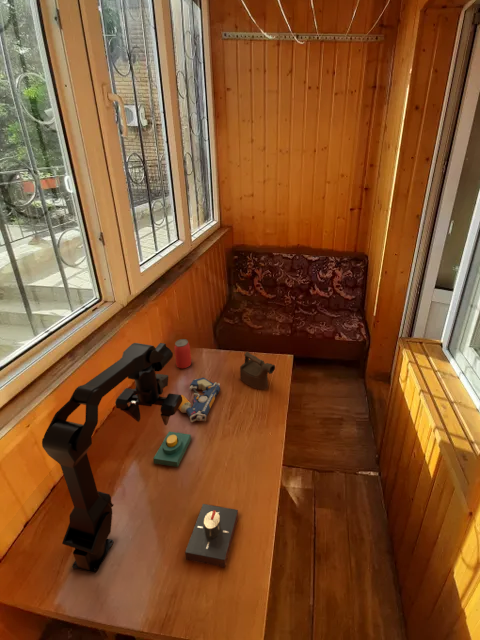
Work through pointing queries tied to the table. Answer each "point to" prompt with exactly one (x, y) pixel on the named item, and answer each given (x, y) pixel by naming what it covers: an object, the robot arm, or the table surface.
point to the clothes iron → (255, 371)
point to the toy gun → (200, 399)
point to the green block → (172, 450)
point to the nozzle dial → (212, 524)
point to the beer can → (182, 353)
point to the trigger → (171, 440)
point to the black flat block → (217, 547)
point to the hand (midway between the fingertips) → (152, 422)
